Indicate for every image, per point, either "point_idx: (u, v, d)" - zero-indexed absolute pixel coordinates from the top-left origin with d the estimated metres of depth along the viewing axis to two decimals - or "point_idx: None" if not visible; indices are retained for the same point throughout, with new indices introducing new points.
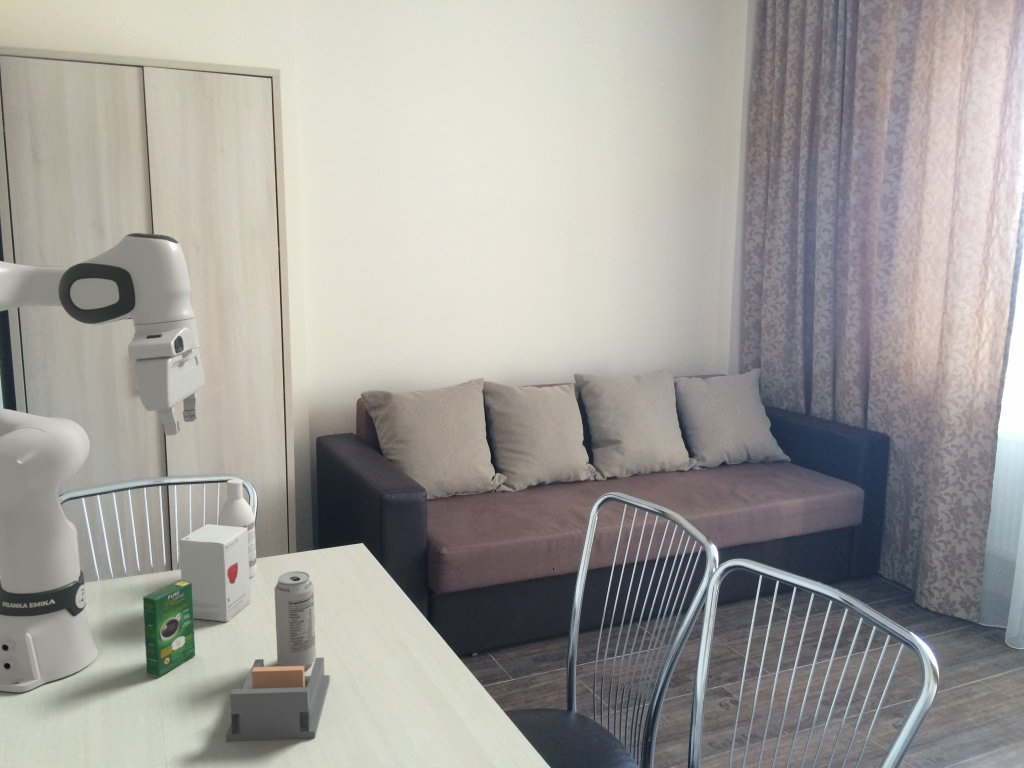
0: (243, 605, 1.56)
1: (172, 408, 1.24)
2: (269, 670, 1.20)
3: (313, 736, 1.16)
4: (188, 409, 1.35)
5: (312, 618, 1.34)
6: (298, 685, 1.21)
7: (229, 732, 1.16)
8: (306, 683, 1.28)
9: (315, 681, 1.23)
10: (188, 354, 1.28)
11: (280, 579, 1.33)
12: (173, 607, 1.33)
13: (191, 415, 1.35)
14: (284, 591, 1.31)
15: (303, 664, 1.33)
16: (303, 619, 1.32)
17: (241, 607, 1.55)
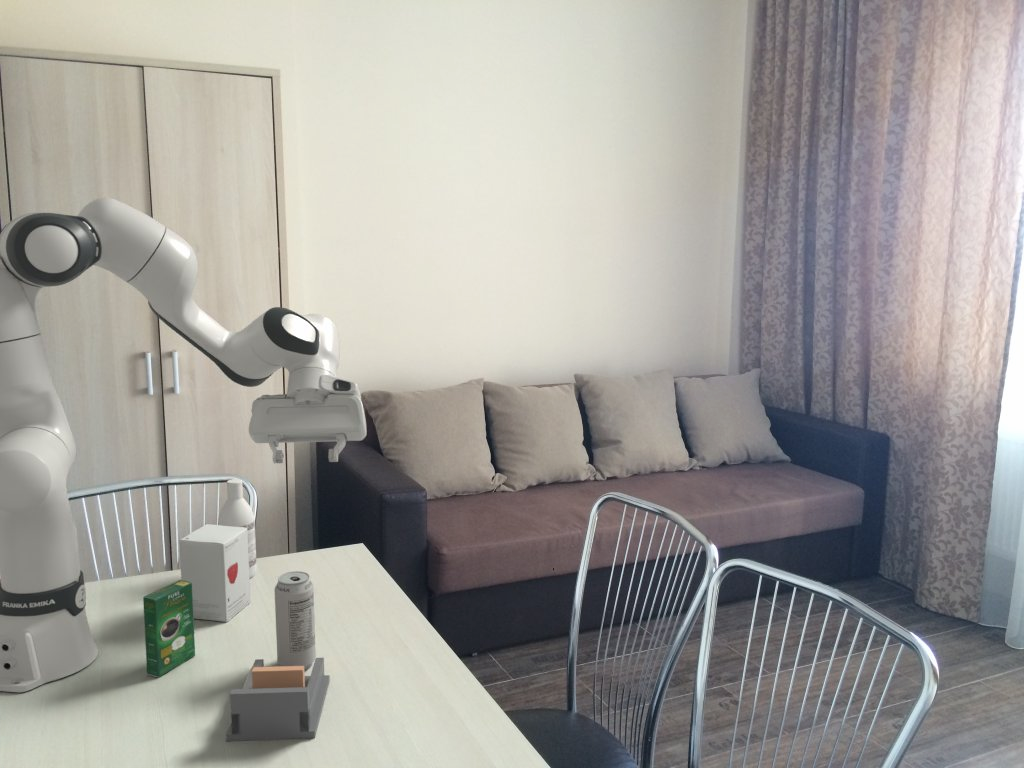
0: (243, 605, 1.56)
1: None
2: (269, 670, 1.20)
3: (313, 736, 1.16)
4: None
5: (312, 618, 1.34)
6: (298, 685, 1.21)
7: (229, 732, 1.16)
8: (306, 683, 1.28)
9: (315, 681, 1.23)
10: None
11: (280, 579, 1.33)
12: (173, 607, 1.33)
13: (281, 457, 1.45)
14: (284, 591, 1.31)
15: (303, 664, 1.33)
16: (303, 619, 1.32)
17: (241, 607, 1.55)
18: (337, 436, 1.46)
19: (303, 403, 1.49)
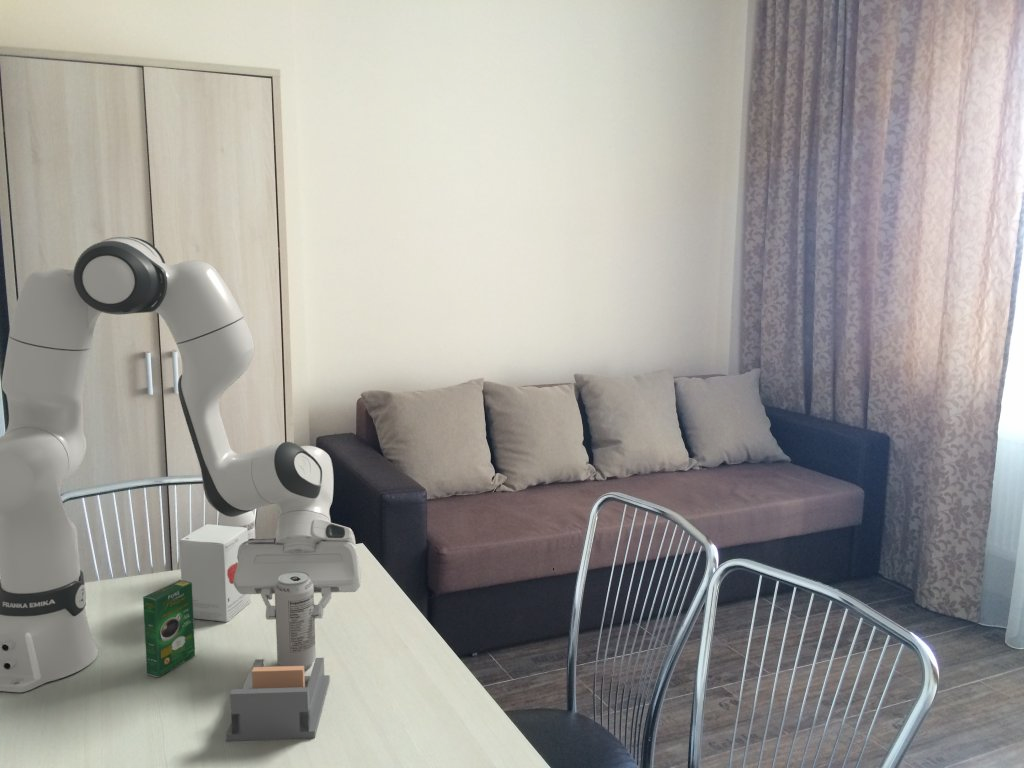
0: (243, 605, 1.56)
1: None
2: (269, 670, 1.20)
3: (313, 736, 1.16)
4: None
5: (312, 618, 1.34)
6: (298, 685, 1.21)
7: (229, 732, 1.16)
8: (306, 683, 1.28)
9: (315, 681, 1.23)
10: None
11: (280, 579, 1.33)
12: (173, 607, 1.33)
13: (275, 613, 1.34)
14: (284, 591, 1.31)
15: (303, 664, 1.33)
16: (303, 619, 1.32)
17: (241, 607, 1.55)
18: (322, 590, 1.36)
19: (293, 551, 1.38)
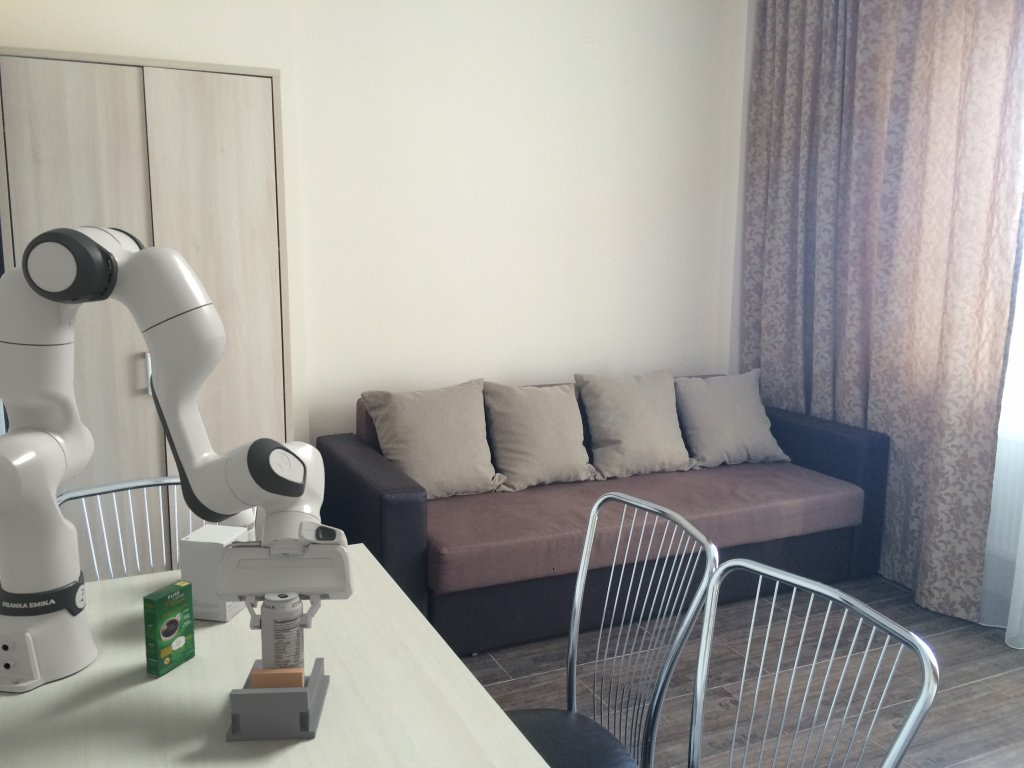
0: (243, 605, 1.56)
1: None
2: (268, 673, 1.20)
3: (313, 736, 1.16)
4: None
5: (300, 640, 1.23)
6: None
7: (229, 732, 1.16)
8: (306, 683, 1.28)
9: (315, 681, 1.23)
10: None
11: (267, 596, 1.23)
12: (173, 607, 1.33)
13: (260, 622, 1.24)
14: (269, 609, 1.21)
15: None
16: (289, 640, 1.22)
17: (241, 607, 1.55)
18: (311, 597, 1.25)
19: (280, 555, 1.27)
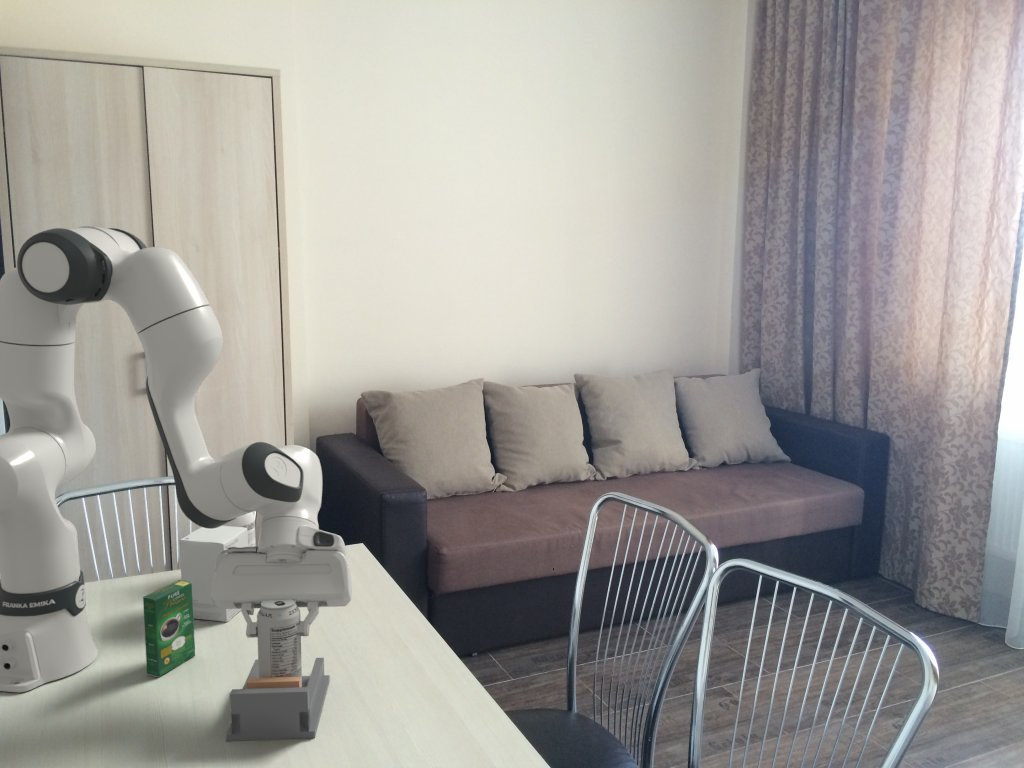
0: None
1: None
2: (264, 681, 1.17)
3: (313, 736, 1.16)
4: None
5: (297, 648, 1.21)
6: None
7: (229, 732, 1.16)
8: (306, 683, 1.28)
9: (315, 681, 1.23)
10: None
11: (263, 603, 1.20)
12: (173, 607, 1.33)
13: None
14: (266, 616, 1.19)
15: None
16: (286, 649, 1.19)
17: None
18: (308, 604, 1.22)
19: (277, 561, 1.25)
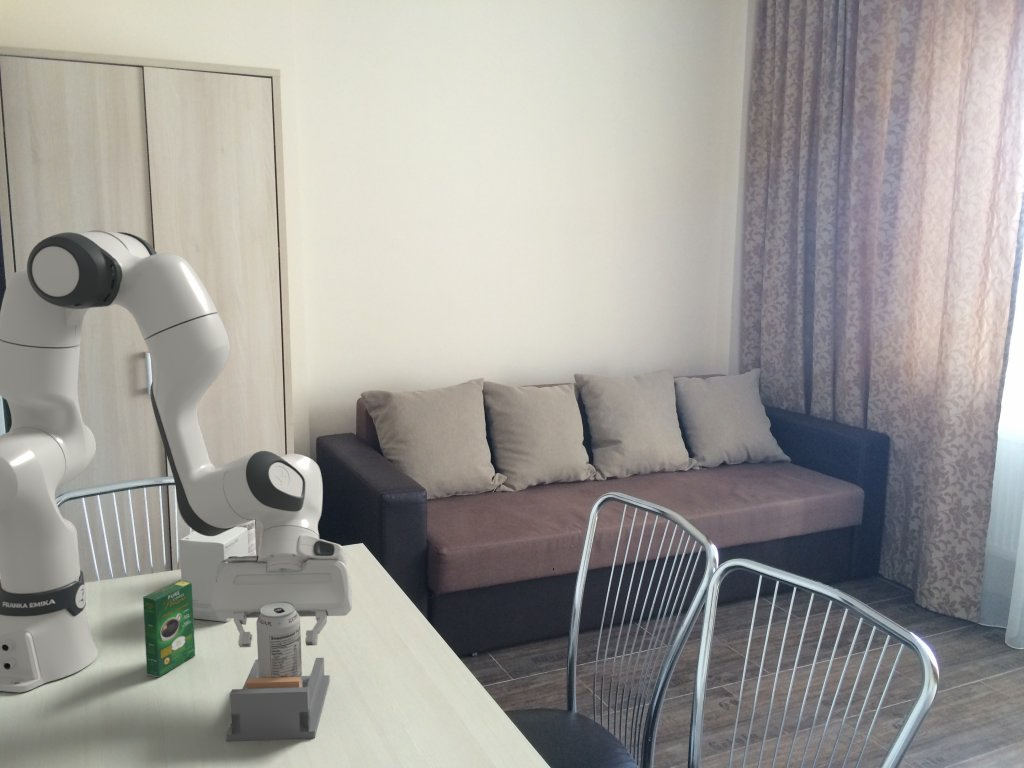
0: None
1: None
2: (264, 682, 1.17)
3: (313, 736, 1.16)
4: None
5: (297, 655, 1.20)
6: None
7: (229, 732, 1.16)
8: (306, 683, 1.28)
9: (315, 681, 1.23)
10: None
11: (263, 610, 1.19)
12: (173, 607, 1.33)
13: (249, 639, 1.21)
14: (265, 624, 1.18)
15: None
16: (286, 656, 1.19)
17: None
18: (317, 613, 1.23)
19: (277, 570, 1.25)
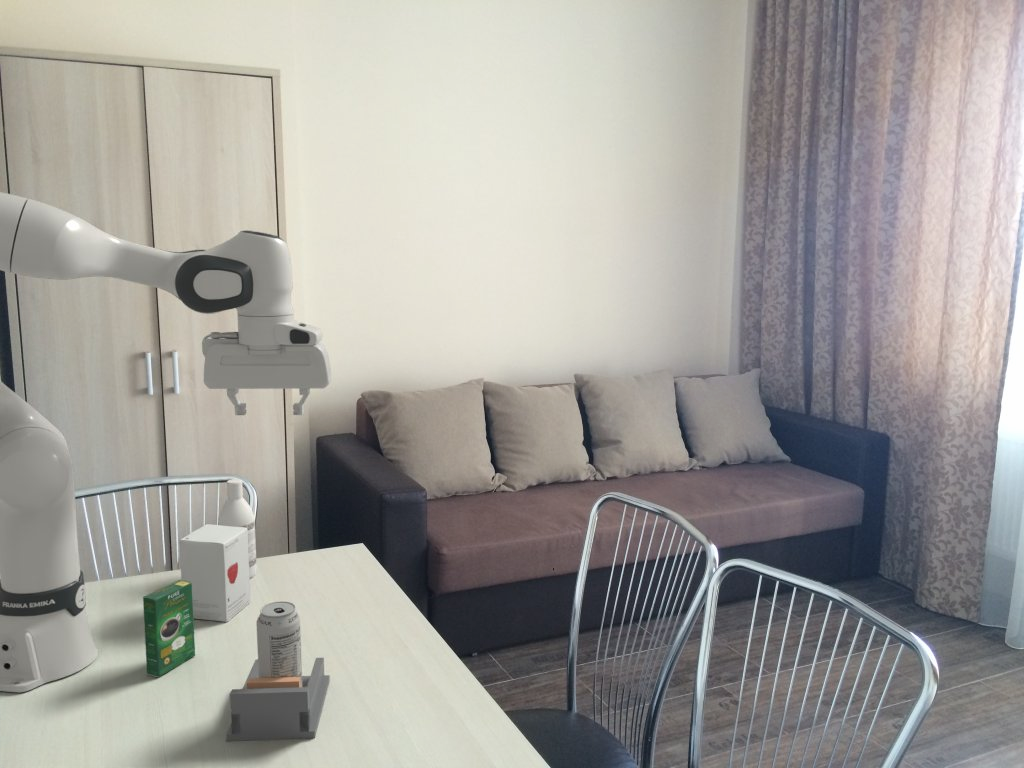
0: (243, 605, 1.56)
1: None
2: (264, 682, 1.17)
3: (313, 736, 1.16)
4: (239, 404, 1.39)
5: (297, 655, 1.20)
6: None
7: (229, 732, 1.16)
8: (306, 683, 1.28)
9: (315, 681, 1.23)
10: None
11: (263, 610, 1.19)
12: (173, 607, 1.33)
13: (244, 408, 1.39)
14: (265, 624, 1.18)
15: None
16: (286, 656, 1.19)
17: (241, 607, 1.55)
18: (300, 391, 1.38)
19: None
